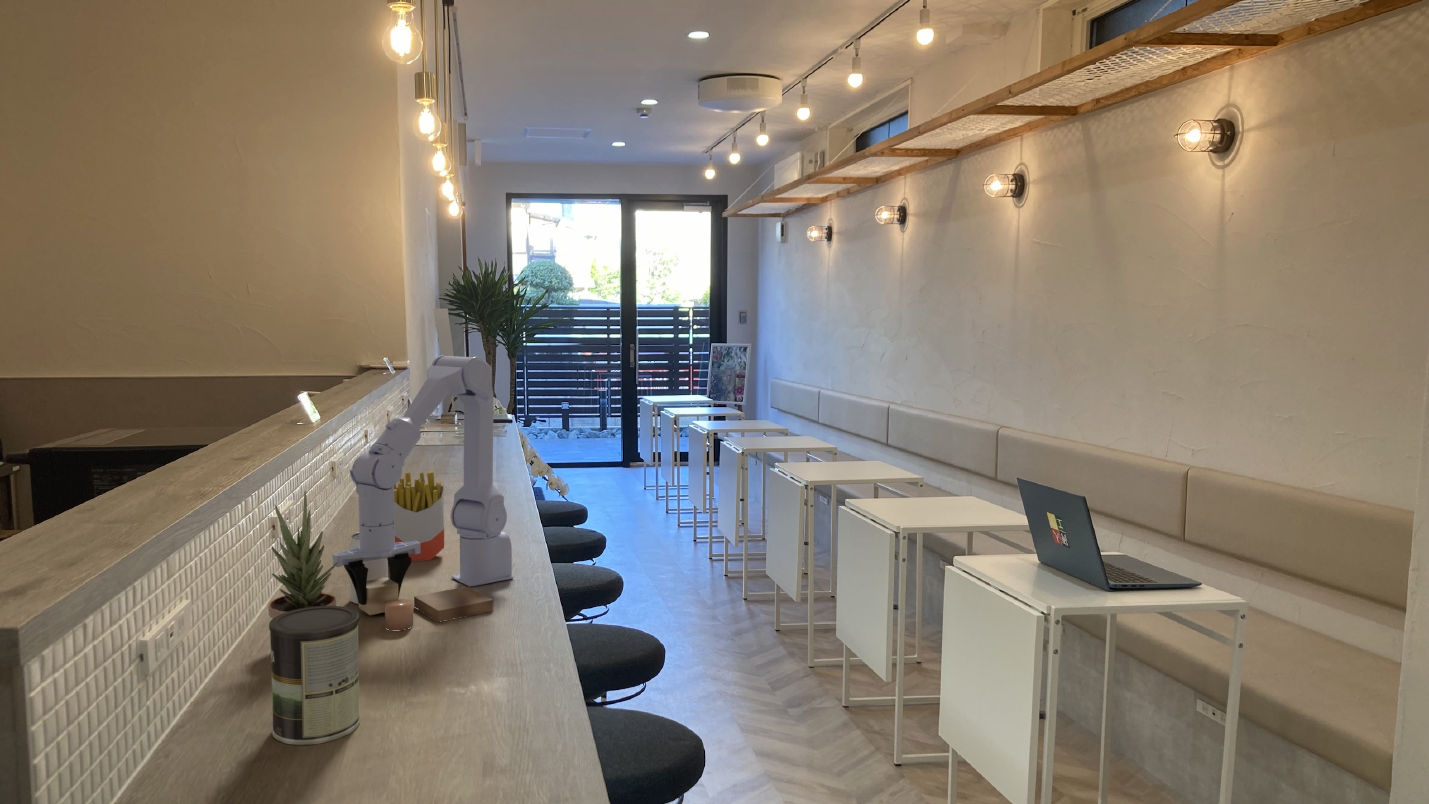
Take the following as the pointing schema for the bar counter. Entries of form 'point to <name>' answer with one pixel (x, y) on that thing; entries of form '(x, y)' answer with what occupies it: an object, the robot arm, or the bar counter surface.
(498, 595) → the bar counter surface
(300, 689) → the coffee can
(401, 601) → the brown rounded piece
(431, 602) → the board
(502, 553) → the robot arm
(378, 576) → the can
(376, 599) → the block
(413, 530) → the french fries container
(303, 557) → the potted plant
